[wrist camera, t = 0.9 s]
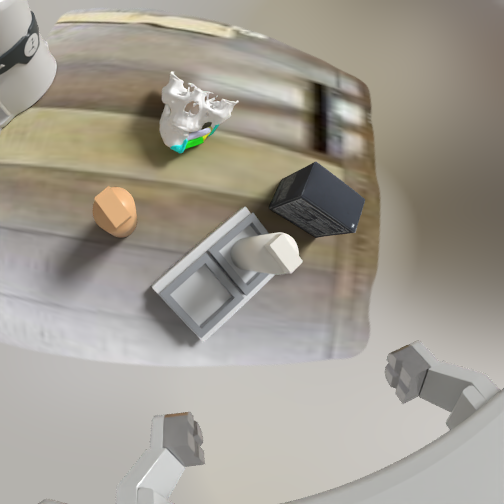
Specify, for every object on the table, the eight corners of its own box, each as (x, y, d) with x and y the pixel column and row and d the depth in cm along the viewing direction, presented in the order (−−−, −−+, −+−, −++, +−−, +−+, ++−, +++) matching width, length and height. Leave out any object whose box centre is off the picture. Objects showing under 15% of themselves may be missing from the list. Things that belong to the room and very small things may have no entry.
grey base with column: (200, 338, 42) (228, 375, 28) (151, 285, 39) (155, 301, 26) (281, 261, 47) (337, 264, 33) (240, 208, 44) (285, 188, 31)
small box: (328, 207, 51) (367, 198, 41) (316, 239, 50) (355, 235, 40) (282, 176, 47) (316, 158, 37) (267, 208, 46) (300, 197, 36)
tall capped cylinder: (118, 244, 37) (108, 240, 26) (99, 218, 36) (81, 204, 25) (143, 223, 39) (144, 209, 27) (124, 197, 38) (117, 174, 26)
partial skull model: (131, 136, 35) (158, 75, 30) (148, 121, 42) (172, 71, 37) (206, 168, 39) (239, 111, 34) (211, 148, 46) (238, 101, 41)
